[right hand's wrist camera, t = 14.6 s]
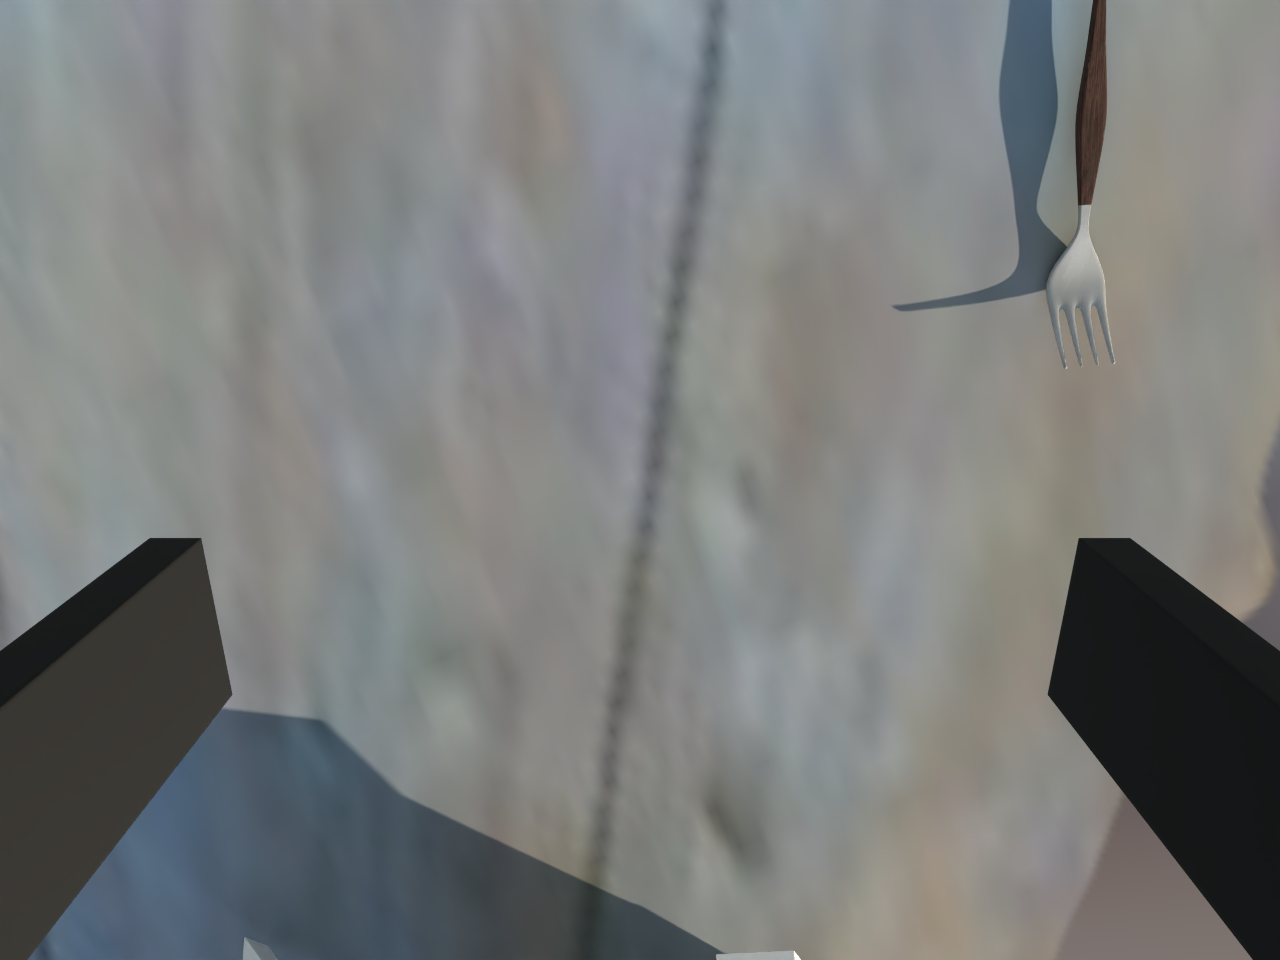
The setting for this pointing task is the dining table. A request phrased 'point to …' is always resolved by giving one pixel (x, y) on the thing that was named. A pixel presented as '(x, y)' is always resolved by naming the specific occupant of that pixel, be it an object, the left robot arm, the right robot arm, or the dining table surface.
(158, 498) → the dining table surface
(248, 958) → the white plastic object
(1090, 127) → the fork
